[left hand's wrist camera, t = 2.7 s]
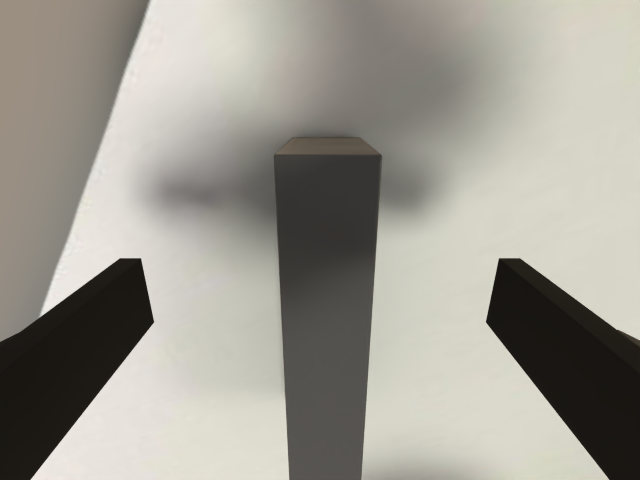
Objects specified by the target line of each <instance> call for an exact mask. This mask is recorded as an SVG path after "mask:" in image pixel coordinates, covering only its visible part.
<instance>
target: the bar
mask: <svg viewBox="0 0 640 480" xmlns="http://www.w3.org/2000/svg"><path fill="white" fill-rule="evenodd" d="M381 165H382V155H381V154H380V153H378V152H377V151H376V150H375V149H373V148H372V147H371V146H370V145H369V144H367V143H366V142H365V141H364V140H362V139H361V138H292V139H291V140H290V141H289V142H288V143H287V144H285V145H284V146H283V147H282V148H281V149H280V150H279V151H278V152H277V153H276V154H275V155H274V170H275V191H276V211H277V232H278V253H279V274H280V294H281V315H282V336H283V357H284V377H285V398H286V419H287V440H288V461H289V480H361V474H362V459H363V443H364V428H365V412H366V397H367V381H368V366H369V351H370V335H371V320H372V304H373V289H374V273H375V258H376V242H377V227H378V211H379V196H380V181H381Z"/></svg>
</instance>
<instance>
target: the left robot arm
mask: <svg viewBox="0 0 640 480" xmlns="http://www.w3.org/2000/svg"><path fill="white" fill-rule="evenodd" d="M153 323H154V320H153V315H152V310H151V305H150V300H149V295H148V291H147V286H146V281H145V276H144V271H143V266H142V261H141V258H120V259H119V260H117V261H116V262H115V263H113V264H112V265H110V266H109V267H108V268H106V269H105V270H104V271H102V272H101V273H100V274H98V275H97V276H96V277H94V278H93V279H91V280H90V281H89V282H87V283H86V284H85V285H83V286H82V287H81V288H79V289H78V290H77V291H75V292H74V293H73V294H71V295H70V296H68V297H67V298H66V299H64V300H63V301H62V302H60V303H59V304H58V305H56V306H55V307H54V308H52V309H51V310H49V311H48V312H47V313H45V314H44V315H43V316H41V317H40V318H39V319H37V320H36V321H35V322H33V323H32V324H31V325H29V326H28V327H26V328H25V329H24V330H22V331H21V332H19V333H17V334H15V335H13V336H11V337H9V338H7V339H5V340H3V341H1V342H0V480H31V478H32V477H33V476H34V474H35V473H36V472H37V471H38V469H39V468H40V467H41V466H42V464H43V463H44V462H45V460H46V459H47V458H48V457H49V455H50V454H51V453H52V452H53V450H54V449H55V448H56V446H57V445H58V444H59V443H60V441H61V440H62V439H63V438H64V436H65V435H66V434H67V432H68V431H69V430H70V429H71V427H72V426H73V425H74V424H75V422H76V421H77V420H78V418H79V417H80V416H81V415H82V413H83V412H84V411H85V410H86V408H87V407H88V406H89V404H90V403H91V402H92V401H93V399H94V398H95V397H96V396H97V394H98V393H99V392H100V390H101V389H102V388H103V387H104V385H105V384H106V383H107V382H108V380H109V379H110V378H111V376H112V375H113V374H114V373H115V371H116V370H117V369H118V368H119V366H120V365H121V364H122V362H123V361H124V360H125V359H126V357H127V356H128V355H129V353H130V352H131V351H132V350H133V348H134V347H135V346H136V345H137V343H138V342H139V341H140V339H141V338H142V337H143V336H144V334H145V333H146V332H147V331H148V329H149V328H150V327H151V325H152V324H153ZM486 323H487V324H488V325H489V327H490V328H491V329H492V331H493V332H494V333H495V334H496V336H497V337H498V338H499V339H500V341H501V342H502V343H503V345H504V346H505V347H506V348H507V350H508V351H509V352H510V353H511V355H512V356H513V357H514V359H515V360H516V361H517V362H518V364H519V365H520V366H521V368H522V369H523V370H524V371H525V373H526V374H527V375H528V376H529V378H530V379H531V380H532V382H533V383H534V384H535V385H536V387H537V388H538V389H539V390H540V392H541V393H542V394H543V396H544V397H545V398H546V399H547V401H548V402H549V403H550V404H551V406H552V407H553V408H554V410H555V411H556V412H557V413H558V415H559V416H560V417H561V418H562V420H563V421H564V422H565V424H566V425H567V426H568V427H569V429H570V430H571V431H572V432H573V434H574V435H575V436H576V438H577V439H578V440H579V441H580V443H581V444H582V445H583V446H584V448H585V449H586V450H587V452H588V453H589V454H590V455H591V457H592V458H593V459H594V460H595V462H596V463H597V464H598V466H599V467H600V468H601V469H602V471H603V472H604V473H605V474H606V476H607V477H608V478H609V480H640V340H638V339H636V338H634V337H632V336H630V335H628V334H626V333H624V332H622V331H620V330H616V329H615V328H614V327H612V326H611V325H609V324H608V323H607V322H605V321H604V320H603V319H601V318H600V317H599V316H597V315H596V314H595V313H593V312H592V311H591V310H589V309H588V308H586V307H585V306H584V305H582V304H581V303H580V302H578V301H577V300H576V299H574V298H573V297H572V296H570V295H569V294H567V293H566V292H565V291H563V290H562V289H561V288H559V287H558V286H557V285H555V284H554V283H553V282H551V281H550V280H549V279H547V278H546V277H544V276H543V275H542V274H540V273H539V272H538V271H536V270H535V269H534V268H532V267H531V266H530V265H528V264H527V263H525V262H524V261H523V260H521V259H520V258H499V261H498V266H497V271H496V276H495V281H494V286H493V291H492V295H491V300H490V305H489V310H488V315H487V320H486Z"/></svg>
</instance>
